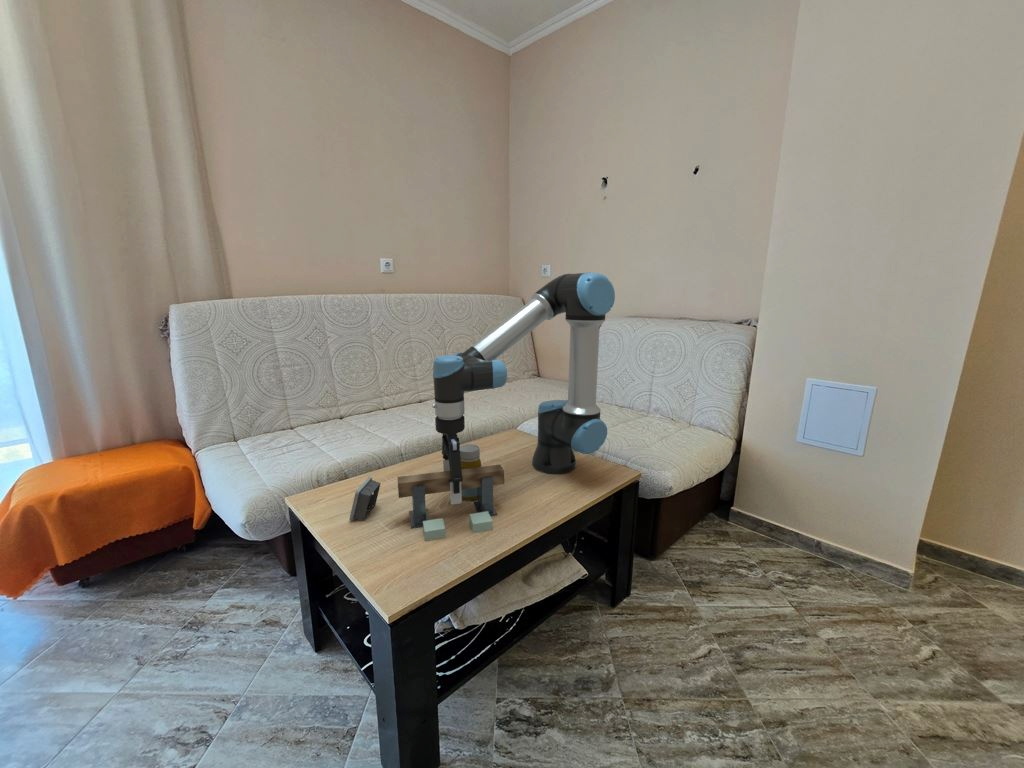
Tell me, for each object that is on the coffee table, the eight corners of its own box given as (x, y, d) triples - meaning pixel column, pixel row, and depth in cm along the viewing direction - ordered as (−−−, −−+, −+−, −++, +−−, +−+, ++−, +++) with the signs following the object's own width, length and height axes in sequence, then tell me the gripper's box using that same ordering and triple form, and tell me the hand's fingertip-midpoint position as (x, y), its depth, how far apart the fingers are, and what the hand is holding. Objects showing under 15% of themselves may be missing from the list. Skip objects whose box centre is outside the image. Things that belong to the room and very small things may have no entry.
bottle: (478, 502, 121) (477, 453, 117) (455, 499, 122) (453, 451, 119) (484, 491, 127) (483, 444, 124) (462, 488, 129) (461, 443, 125)
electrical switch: (363, 504, 119) (363, 474, 117) (381, 506, 119) (381, 476, 117) (348, 522, 110) (349, 490, 108) (367, 524, 110) (368, 493, 108)
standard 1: (427, 510, 116) (425, 473, 114) (430, 525, 109) (428, 486, 106) (409, 513, 115) (406, 476, 112) (410, 528, 107) (408, 489, 105)
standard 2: (490, 501, 121) (490, 466, 119) (497, 515, 114) (497, 477, 111) (473, 503, 120) (472, 468, 117) (479, 518, 112) (478, 480, 110)
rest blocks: (488, 519, 111) (487, 511, 111) (492, 529, 107) (492, 521, 106) (423, 529, 107) (422, 521, 106) (425, 541, 102) (424, 531, 101)
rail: (500, 477, 118) (500, 464, 117) (504, 483, 114) (504, 470, 114) (398, 490, 110) (397, 477, 109) (398, 498, 107) (397, 483, 106)
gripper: (430, 404, 118) (433, 474, 123) (441, 432, 95) (444, 516, 100) (456, 402, 120) (458, 471, 125) (473, 429, 98) (475, 512, 102)
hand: (452, 491), depth 113 cm, fingers open, 12 cm apart
